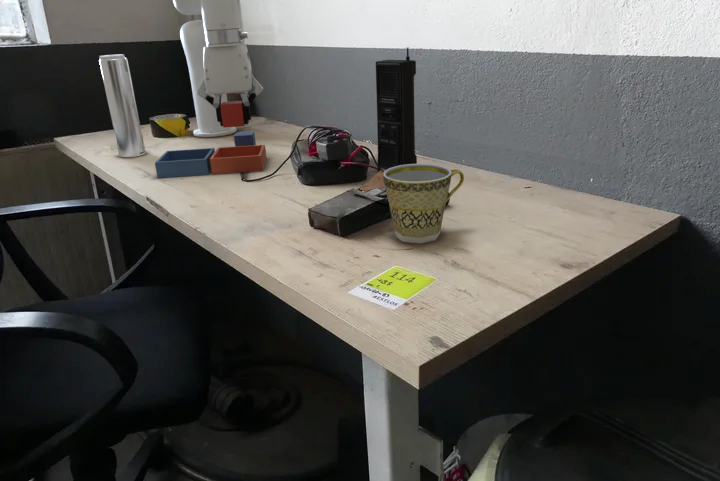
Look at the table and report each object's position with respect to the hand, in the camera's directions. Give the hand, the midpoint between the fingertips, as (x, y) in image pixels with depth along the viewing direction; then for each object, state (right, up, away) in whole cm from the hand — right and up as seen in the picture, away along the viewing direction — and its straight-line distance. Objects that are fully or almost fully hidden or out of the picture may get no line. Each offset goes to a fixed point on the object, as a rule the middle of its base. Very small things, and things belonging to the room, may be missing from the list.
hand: (234, 123), depth 128 cm
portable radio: (+36, -12, -6) cm, 38 cm away
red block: (0, 0, 0) cm, 0 cm away
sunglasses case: (+35, -19, -25) cm, 47 cm away
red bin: (0, -9, +4) cm, 10 cm away
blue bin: (-12, -10, +3) cm, 16 cm away
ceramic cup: (+38, -26, -41) cm, 61 cm away
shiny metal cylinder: (-31, -4, +21) cm, 38 cm away
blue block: (-1, -4, +16) cm, 16 cm away
